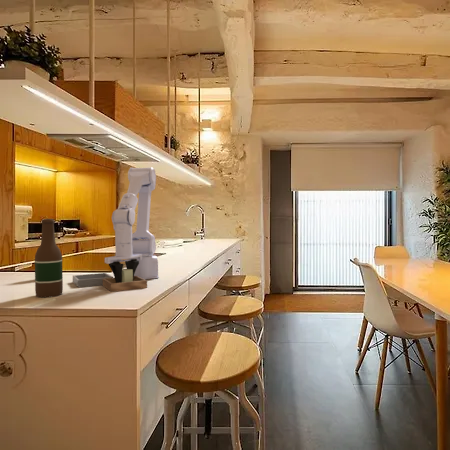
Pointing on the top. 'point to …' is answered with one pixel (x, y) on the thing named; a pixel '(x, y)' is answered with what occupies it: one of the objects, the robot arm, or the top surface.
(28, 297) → the top surface
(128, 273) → the sage block
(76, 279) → the grey bin
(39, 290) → the beer bottle
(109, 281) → the walnut bin
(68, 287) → the top surface
